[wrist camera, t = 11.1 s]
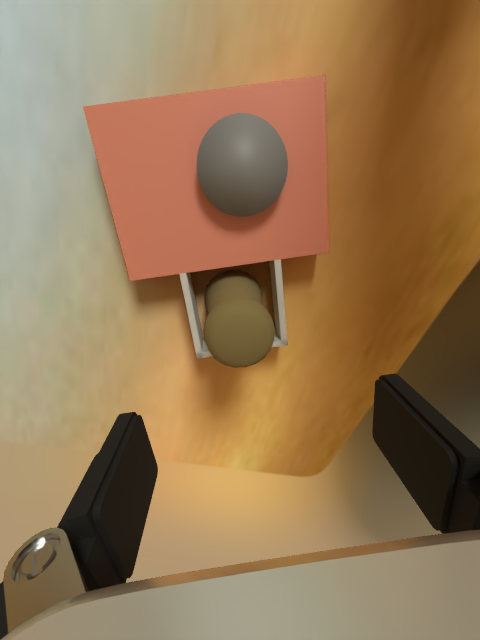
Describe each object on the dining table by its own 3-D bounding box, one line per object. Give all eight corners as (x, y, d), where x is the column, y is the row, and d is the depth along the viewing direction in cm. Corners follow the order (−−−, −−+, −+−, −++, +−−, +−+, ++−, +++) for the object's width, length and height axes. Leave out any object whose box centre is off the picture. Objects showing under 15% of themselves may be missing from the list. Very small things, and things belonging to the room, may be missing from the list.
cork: (207, 265, 28) (200, 293, 17) (266, 273, 28) (293, 305, 18) (201, 322, 30) (192, 377, 19) (257, 328, 30) (276, 384, 20)
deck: (312, 92, 23) (331, 66, 19) (320, 327, 31) (335, 343, 27) (99, 120, 23) (74, 100, 19) (159, 351, 30) (150, 371, 27)
